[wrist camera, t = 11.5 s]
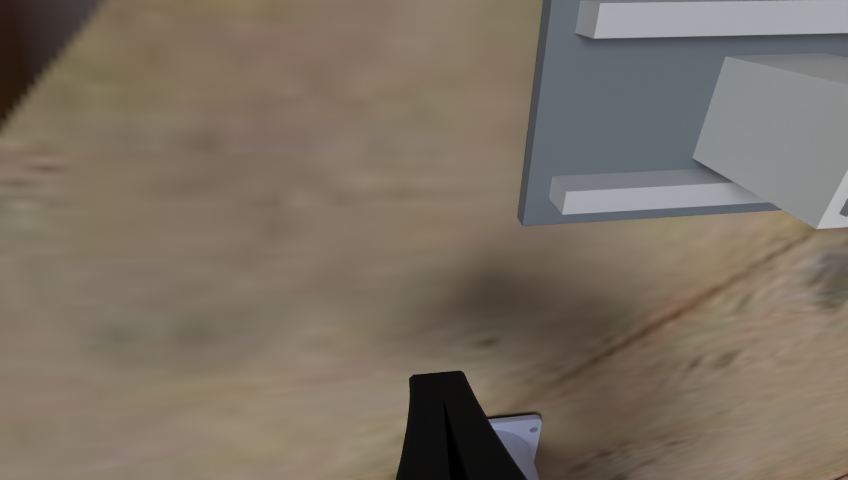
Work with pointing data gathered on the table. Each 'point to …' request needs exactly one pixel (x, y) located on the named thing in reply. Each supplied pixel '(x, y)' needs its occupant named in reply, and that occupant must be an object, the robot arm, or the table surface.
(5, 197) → the table surface
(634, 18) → the rail dock
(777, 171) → the block
